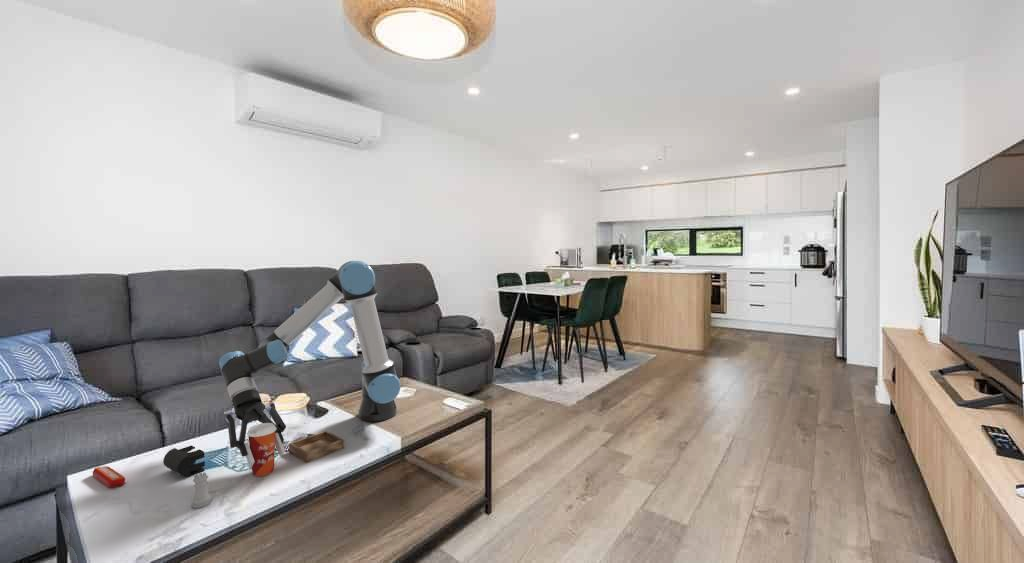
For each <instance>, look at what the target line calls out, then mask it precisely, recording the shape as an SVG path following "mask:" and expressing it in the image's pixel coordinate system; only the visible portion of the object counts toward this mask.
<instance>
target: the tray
mask: <svg viewBox="0 0 1024 563" xmlns="http://www.w3.org/2000/svg"><path fill="white" fill-rule="evenodd" d="M343 449H345V439H344V438H342V437H340V436H338V435H336V434H335V433H332V432H330V431H328V430H325V431H321V432H317V433H315V434H312V435H310V436H309V435H308V436H306V437H303V438H300V439H298V440H295V441H292V442H289V443H288V452H289V453H290V454H292V455H293V456H294V457H296V458H297V459H299V460H301V461H303V462H304V463H305V464H308V463H309V462H313V461H315V460H318V459H320V458H323V457H325V456H328V455H330V454H333V453H335V452H338V451H340V450H343Z"/></svg>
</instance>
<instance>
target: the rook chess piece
mask: <svg viewBox="0 0 1024 563" xmlns="http://www.w3.org/2000/svg"><path fill="white" fill-rule="evenodd" d="M193 476H194V478H193V479H192V481H193V482H194V485H193V486H194V488H195V489H194V494H193V497H192V499H191V506H190V507H192V508H194V509H201V508H204V507H207V506H209V504H210V503H211V502H212V501H213V498H212V494H211V493H210V492H209V490H208V481H207V479H208V478H209V475H207V472H201V473H198V474H196V475H193Z"/></svg>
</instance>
